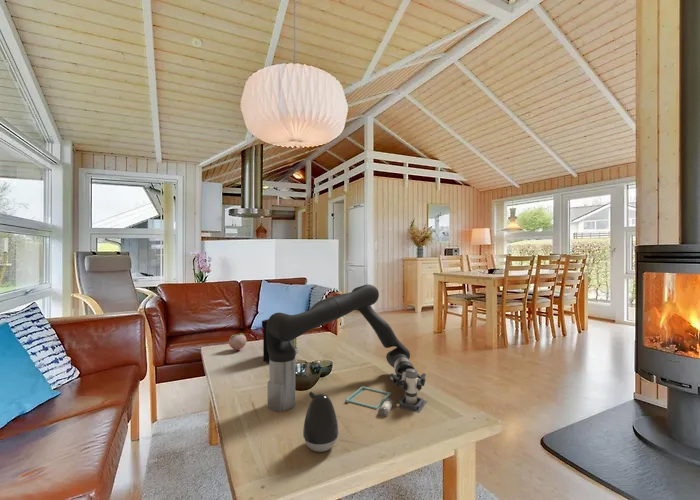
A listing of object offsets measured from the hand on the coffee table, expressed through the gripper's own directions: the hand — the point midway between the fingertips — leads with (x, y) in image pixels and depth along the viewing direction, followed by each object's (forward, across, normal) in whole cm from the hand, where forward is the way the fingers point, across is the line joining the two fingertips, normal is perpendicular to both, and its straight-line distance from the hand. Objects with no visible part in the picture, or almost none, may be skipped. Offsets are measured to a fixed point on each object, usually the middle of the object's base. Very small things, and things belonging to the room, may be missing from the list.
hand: (412, 387), depth 121 cm
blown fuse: (-3, 0, +7) cm, 8 cm away
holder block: (-3, 0, +8) cm, 8 cm away
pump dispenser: (+21, -31, +8) cm, 38 cm away
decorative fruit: (-67, -82, +8) cm, 106 cm away
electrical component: (-56, -57, +8) cm, 80 cm away
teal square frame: (-8, -15, +8) cm, 19 cm away
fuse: (+2, -9, +8) cm, 12 cm away
